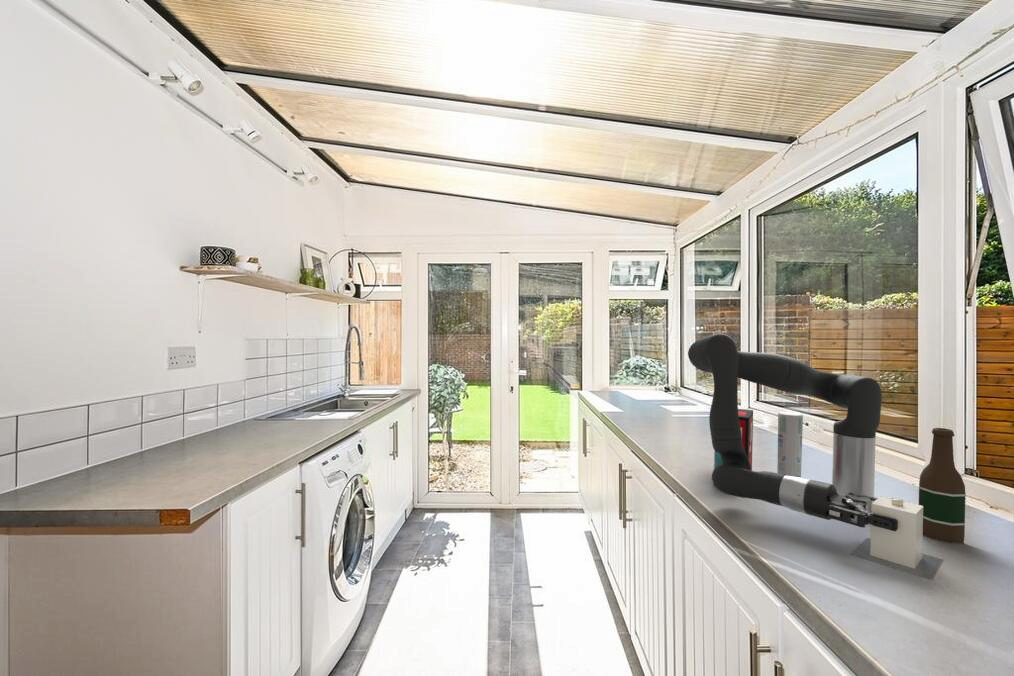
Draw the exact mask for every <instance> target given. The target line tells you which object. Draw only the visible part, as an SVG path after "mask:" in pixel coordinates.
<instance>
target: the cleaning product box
mask: <svg viewBox="0 0 1014 676" xmlns="http://www.w3.org/2000/svg"><path fill="white" fill-rule="evenodd" d="M738 414H739V422H740V429H741V435H742V443H743V448H744V450H745V452H746V455H747V458H748V460H749V463H750V466H751V470H752V471H753V435H754V434H753V433H754V432H753V431H754V409H744V408H743V409H742V408H738Z"/></svg>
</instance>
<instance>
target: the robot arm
mask: <svg viewBox="0 0 1014 676" xmlns="http://www.w3.org/2000/svg"><path fill="white" fill-rule="evenodd" d="M687 356H688V359H689V361H690V363H691V365H693V367H695V368H696V369H697V370H699V371H700V372H704V373H710V374H712V376H713V394H712V400H711V406H710V411H709V432H710V437H711V438H710V439H711V444H712V448H713V451H716V452H718V453H720V456H721V459H722V463H723V465H720V466H718V467H716V468H715V469H714V468H713V470H712V472H711V481H712V484H713V485H714V487H715V488H716V489H717V490H718V491H720V492H721V493H724V494H726V495H729V496H732V497H737V498H744V499H750V500H751V499H753V500H759V501H762V502H766V503H769V504H772V505H776V506H780V507H784V508H787V509H789V510H791V511H794V512H798V513H801V514H805V515H809V516H812V517H815V518H819V519H823V520H827V521H830V520H834V521H839V522H842V523H844V524H845V523H846V524H848V525H852V526H855V527H859V528H866V527H871V526H872V525H873V526H876V527H880V528H884V529H888V530H891V531H897V529H898V521H897V519H894V518H890V517H886V516H882V515H878V514H874V513H873V515H872V513H871V508H872V503H873V502H874V501H875V500H877V499H878V498H879V497H875V479H876V478H875V477H876V474H875V473H876V439H877V430H878V428H879V426H880V423H881V412H882V411H881V410H882V403H883V402H882V400H883V394H882V389H881V386H880V384H879V382H878V381H877V380H875V379H874V378H872V377H868V376H861V375H851V374H841V373H839V374H838V373H833V372H826V371H822V370H817V369H816V368H814V367H812V366H810V365H809V364H808V363H806V362H804V361H802V360H799V359H797V358H794V357H790V356H786V355H782V354H776V353H770V352H769V353H768V352H757V351H755V352H751V351H740V350H738V346H737V344H736V342H735V340H734V339H733V338H732V336H729V335H728V334H725V333H721V332H720V333H715V334H711V335H708V336H704V337H702V338H700V339H698V340H696V341H694V342H693V343H692V344H691V345H690V346H689V348H688V351H687ZM738 379H741V380H744V381H747V382H751V383H754V384H757V385H761V386H765V387H767V388H769V389H770V388H771V389H774V390H778V391H782V392H786V393H791V394H796V395H805V396H811V397H813V398H814V397H815V398H817V399H820V400H822V401H825V402H827V403H829V404H832V405H834V406H837V407H840V408H843V409H847V412H846V413H847V414H846V416H845V418H843V419H841V420H837V421H835V422H834V423H833V427H832V430H833V434H832V468H831V469H832V473H831V476H832V477H831V483H827V482H824V481H818V480H814V479H809V478H804V477H802V476H801V477H795V476H787V475H783V474H778V473H777V472H774V471H773V472H772V471H767V470H765V471H764V470H761V471H755V470H753V469H752V470H751V466H750V463H749V460H748V458H747V455H746V452H745V450H744V448H743V443H742V435H741V429H740V422H739V414H738V409H739V404H738V399H739V398H738V387H739V385H738V384H739V380H738Z"/></svg>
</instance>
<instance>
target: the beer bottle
mask: <svg viewBox="0 0 1014 676" xmlns="http://www.w3.org/2000/svg"><path fill="white" fill-rule="evenodd" d="M931 433H932V435H933V436H932V443H931V446H932V447H931V456H930V459H929V464H928V465H926V466H925V467H924V468H923V469H922V471H921V473H920V475H919V482H918V505H921V506H923V536H924V537H927V538H929V539H932V540H936V541H940V542H945V543H949V544H963V545H964V544H965V543H964V542H965V535H966V534H965V531H966V527H965V526H966V485H965V482H964V481H963V477H962V475H961V474H960V472H959V471H958V470H957V468H956V467H955V460H954V441H953V437H955V433H954V430H952V429H949V428H943V427H934V428H932V430H931Z"/></svg>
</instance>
